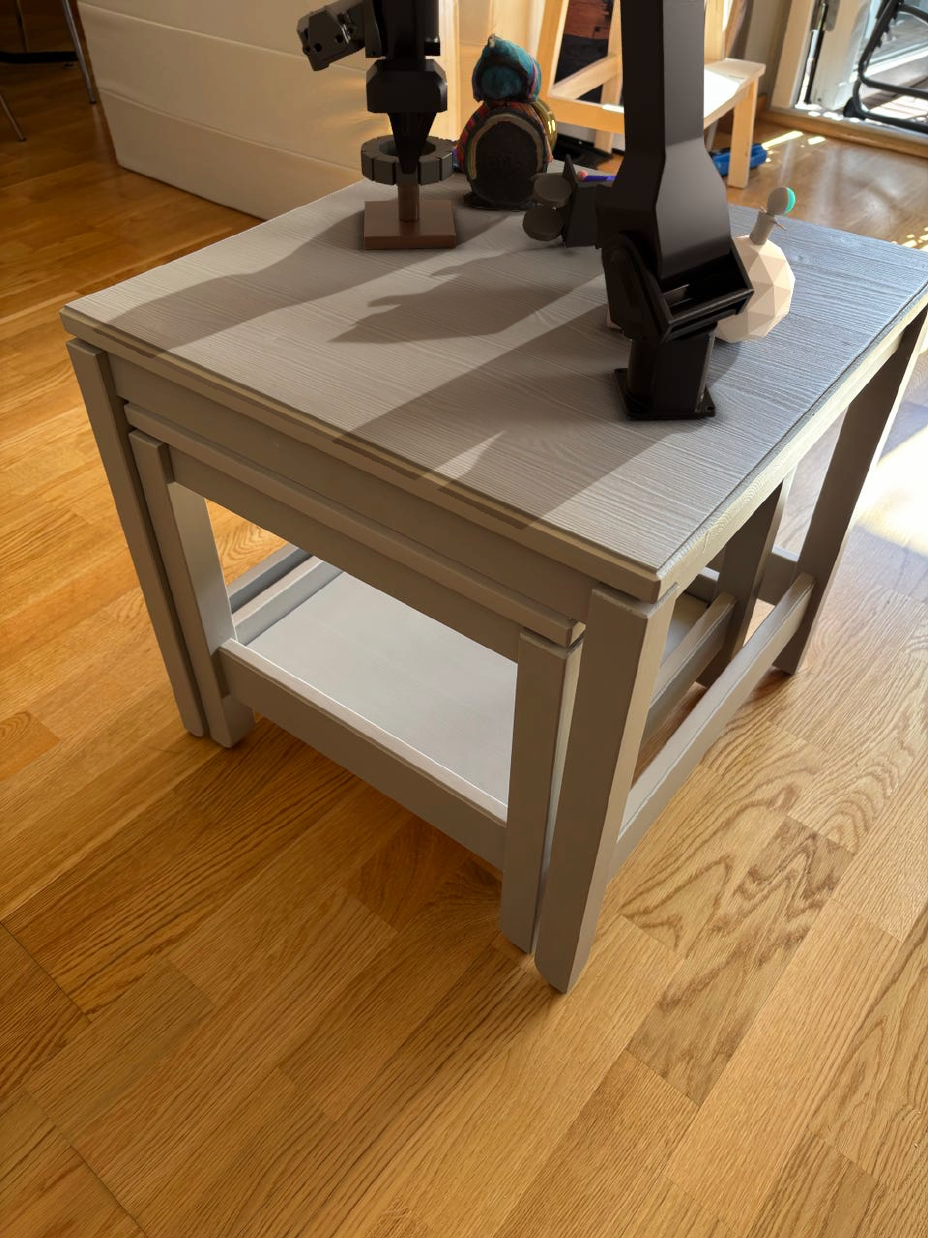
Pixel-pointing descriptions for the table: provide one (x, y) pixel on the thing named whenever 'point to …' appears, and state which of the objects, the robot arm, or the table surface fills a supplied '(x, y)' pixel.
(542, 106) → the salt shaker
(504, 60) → the figurine
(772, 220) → the perfume bottle
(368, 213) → the stand
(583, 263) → the table surface
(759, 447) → the table surface
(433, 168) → the ring
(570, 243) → the character figurine
